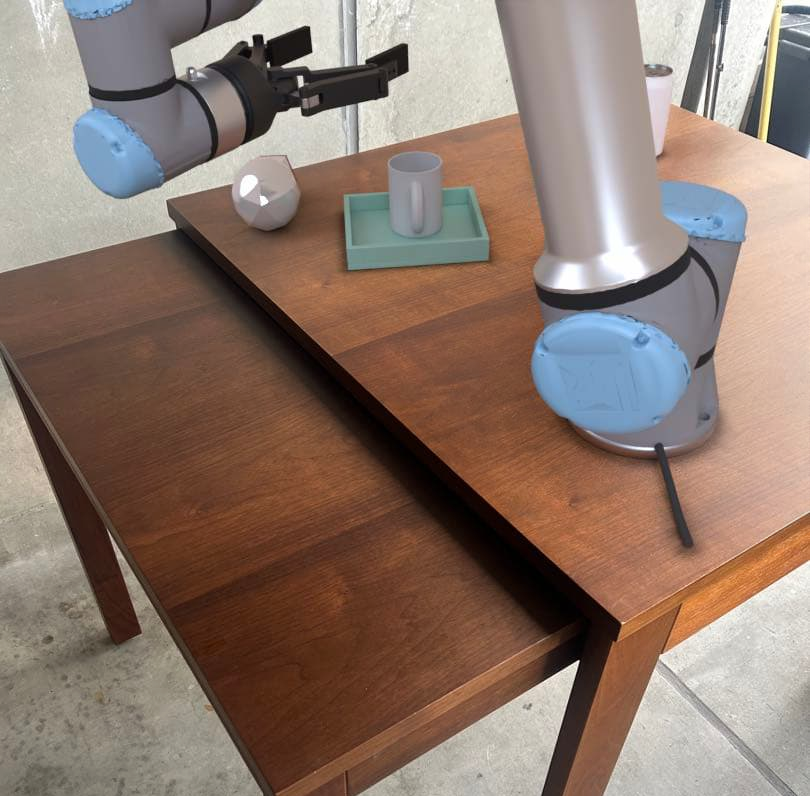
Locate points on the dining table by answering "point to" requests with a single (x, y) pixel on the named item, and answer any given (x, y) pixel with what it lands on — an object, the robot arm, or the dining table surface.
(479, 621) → the dining table surface
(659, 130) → the can
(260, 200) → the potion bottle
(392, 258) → the tray
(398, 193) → the cup
